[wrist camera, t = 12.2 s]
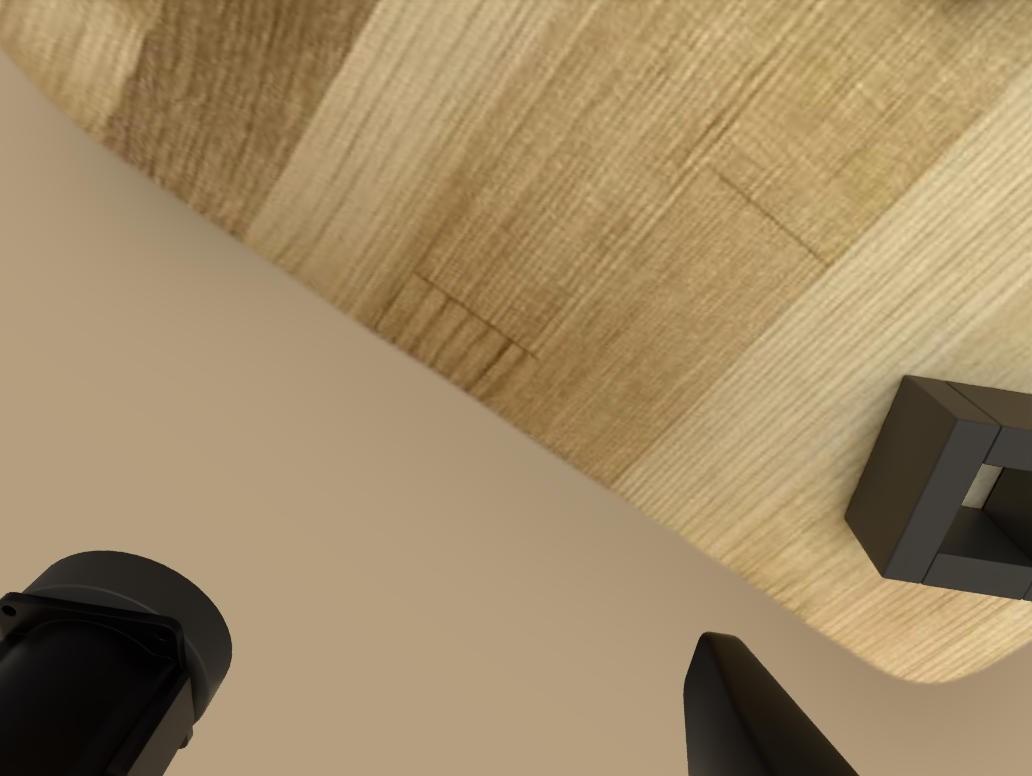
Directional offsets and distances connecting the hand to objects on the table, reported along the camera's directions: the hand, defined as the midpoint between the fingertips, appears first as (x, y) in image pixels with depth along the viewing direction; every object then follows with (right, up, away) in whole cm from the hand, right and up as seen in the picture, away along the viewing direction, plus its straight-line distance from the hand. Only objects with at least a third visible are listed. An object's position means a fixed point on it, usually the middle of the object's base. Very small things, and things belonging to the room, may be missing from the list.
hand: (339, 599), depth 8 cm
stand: (+16, 0, +13) cm, 21 cm away
